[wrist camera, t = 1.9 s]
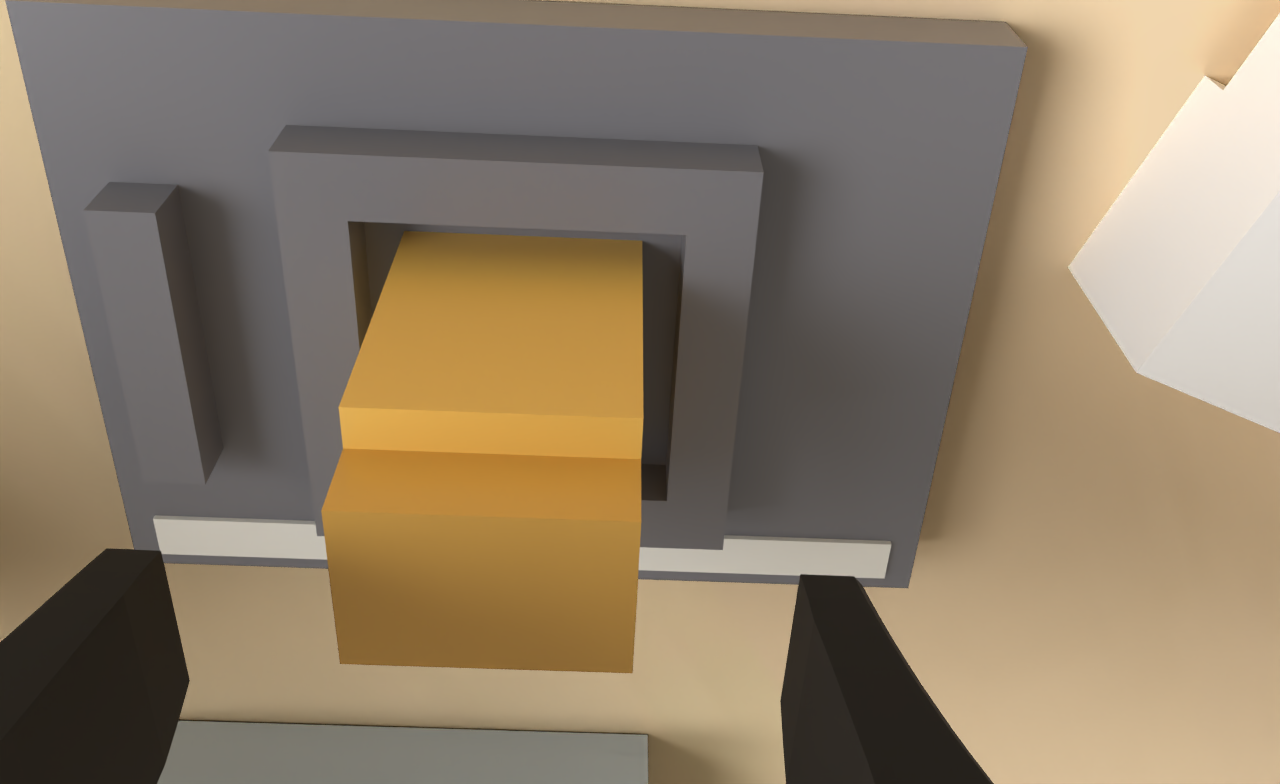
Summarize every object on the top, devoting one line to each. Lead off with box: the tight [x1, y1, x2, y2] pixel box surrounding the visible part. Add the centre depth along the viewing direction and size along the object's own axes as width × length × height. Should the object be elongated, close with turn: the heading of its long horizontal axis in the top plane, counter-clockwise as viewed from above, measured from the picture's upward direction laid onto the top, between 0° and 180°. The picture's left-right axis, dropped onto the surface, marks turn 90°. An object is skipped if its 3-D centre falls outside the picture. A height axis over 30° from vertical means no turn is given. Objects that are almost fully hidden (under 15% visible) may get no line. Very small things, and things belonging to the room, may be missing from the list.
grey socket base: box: [5, 0, 1028, 588], centre depth 19 cm, size 14×10×2 cm
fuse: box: [321, 231, 643, 673], centre depth 17 cm, size 4×4×6 cm
